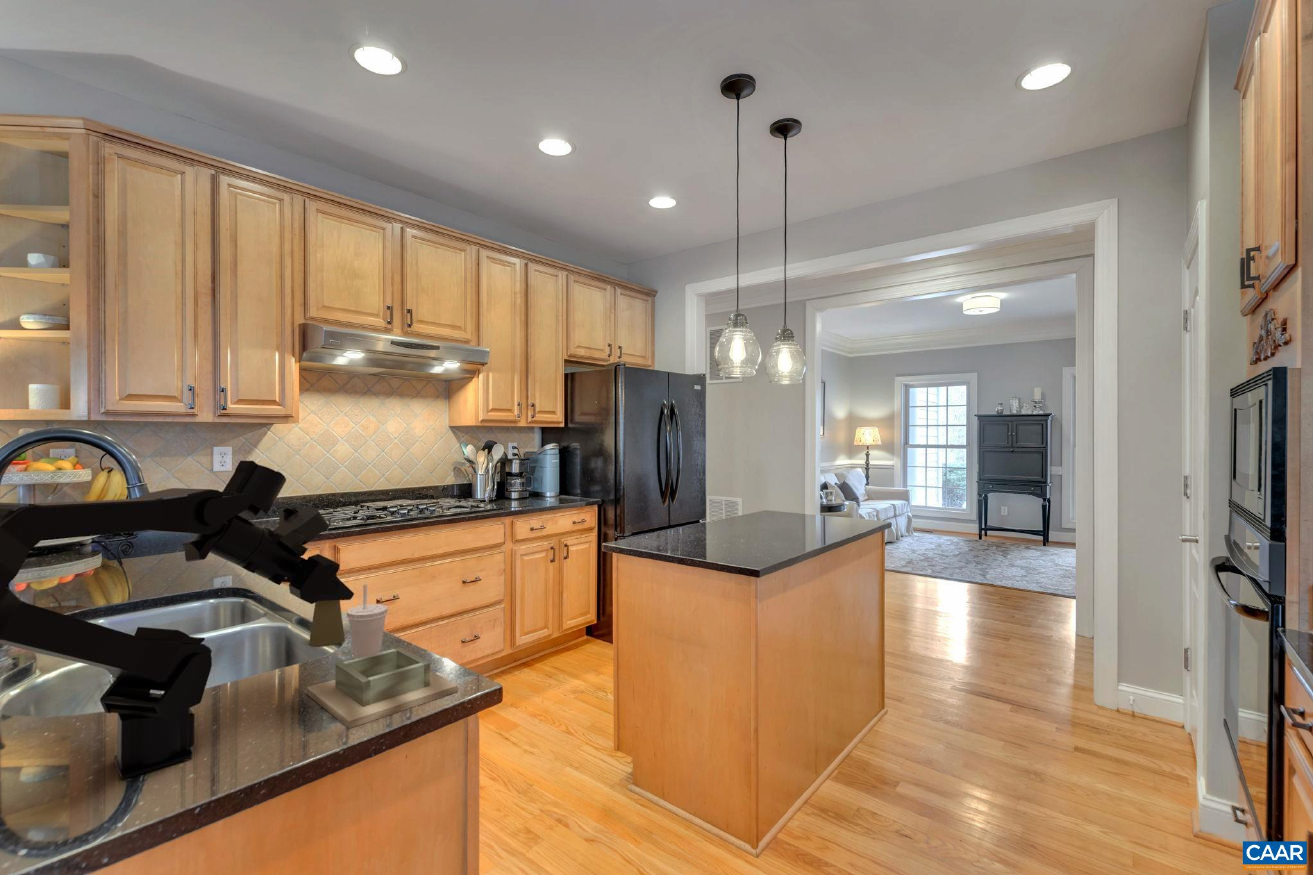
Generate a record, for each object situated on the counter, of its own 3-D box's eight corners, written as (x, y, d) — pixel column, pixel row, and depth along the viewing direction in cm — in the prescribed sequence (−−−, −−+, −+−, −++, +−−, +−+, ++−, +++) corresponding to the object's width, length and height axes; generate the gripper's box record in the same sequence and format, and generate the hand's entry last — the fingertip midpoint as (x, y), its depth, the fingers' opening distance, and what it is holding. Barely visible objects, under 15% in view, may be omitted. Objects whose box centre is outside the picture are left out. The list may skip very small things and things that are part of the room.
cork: (333, 647, 111) (334, 587, 111) (301, 646, 112) (302, 587, 112) (351, 636, 117) (351, 580, 117) (320, 635, 118) (321, 579, 118)
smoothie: (336, 669, 100) (337, 586, 101) (366, 656, 107) (367, 578, 107) (367, 674, 98) (368, 589, 98) (395, 661, 104) (396, 581, 105)
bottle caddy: (349, 728, 80) (349, 694, 80) (306, 693, 91) (306, 664, 91) (458, 691, 92) (458, 662, 92) (409, 664, 103) (409, 638, 103)
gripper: (316, 506, 82) (399, 556, 93) (259, 486, 93) (339, 532, 104) (260, 581, 77) (355, 624, 88) (207, 550, 88) (297, 592, 99)
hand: (337, 589), depth 95 cm, fingers open, 9 cm apart
